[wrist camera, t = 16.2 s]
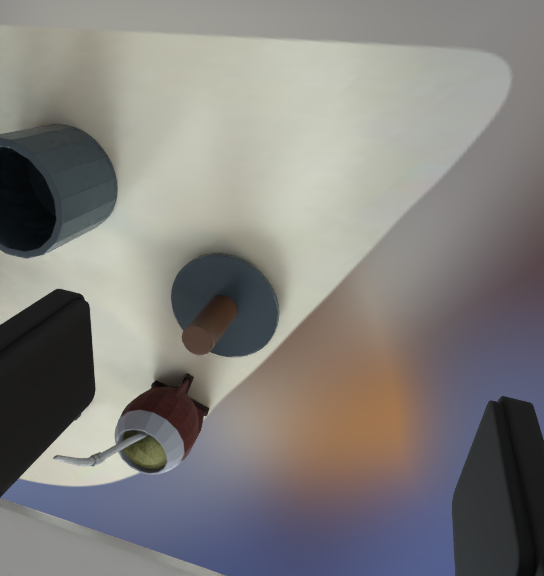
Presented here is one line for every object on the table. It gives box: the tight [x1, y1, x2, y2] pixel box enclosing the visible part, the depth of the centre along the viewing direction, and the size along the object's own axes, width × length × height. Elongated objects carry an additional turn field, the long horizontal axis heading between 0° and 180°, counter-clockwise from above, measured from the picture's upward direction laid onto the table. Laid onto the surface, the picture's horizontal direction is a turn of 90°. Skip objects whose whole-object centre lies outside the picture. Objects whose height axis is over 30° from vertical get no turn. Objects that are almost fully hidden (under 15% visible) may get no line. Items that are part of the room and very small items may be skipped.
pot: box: [0, 124, 117, 258], centre depth 40 cm, size 9×9×7 cm
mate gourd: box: [53, 374, 209, 475], centre depth 44 cm, size 8×8×15 cm
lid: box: [171, 254, 279, 357], centre depth 41 cm, size 10×10×7 cm
